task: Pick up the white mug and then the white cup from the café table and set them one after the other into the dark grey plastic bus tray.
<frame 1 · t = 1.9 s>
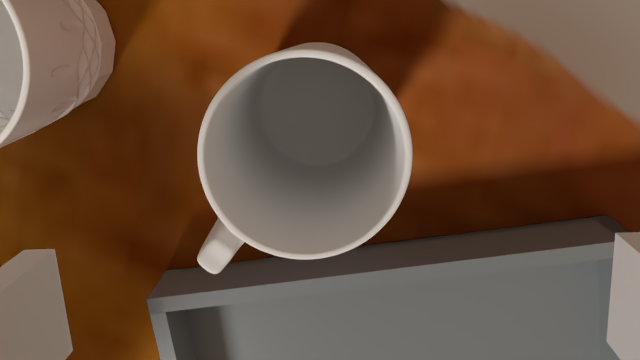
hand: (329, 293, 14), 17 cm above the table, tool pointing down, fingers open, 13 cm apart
mug: (297, 128, 31), on the table
white cup: (51, 43, 30), on the table
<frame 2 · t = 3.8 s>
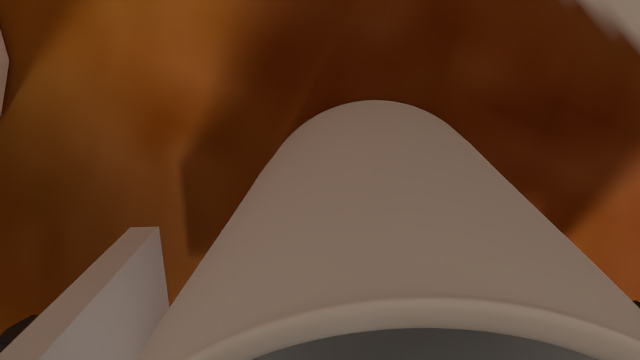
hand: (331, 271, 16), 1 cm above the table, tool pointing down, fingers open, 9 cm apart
mug: (330, 246, 17), on the table, touching gripper
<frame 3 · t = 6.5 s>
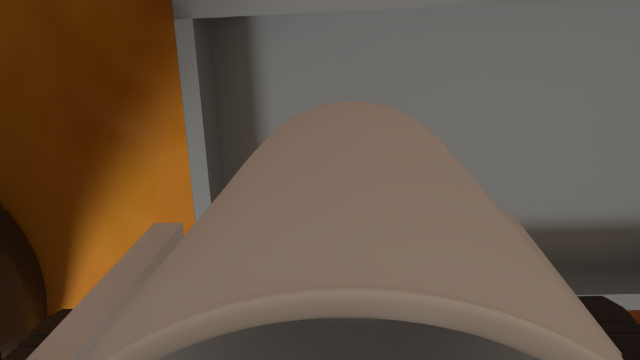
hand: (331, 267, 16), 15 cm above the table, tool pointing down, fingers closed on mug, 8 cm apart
tray: (445, 143, 30), on the table
mug: (310, 245, 17), point 13 cm above the table, touching gripper
when the fingers open (4 cm above the table, at t = 8.8 s): mug drops 2 cm, resting on tray.
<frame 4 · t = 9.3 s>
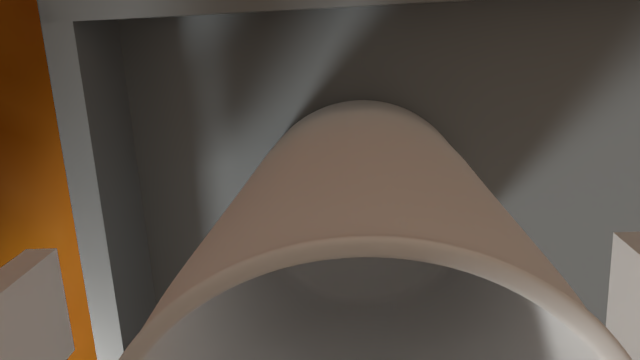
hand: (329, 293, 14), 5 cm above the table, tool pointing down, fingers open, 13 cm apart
tray: (494, 214, 19), on the table
mug: (325, 233, 19), resting on tray
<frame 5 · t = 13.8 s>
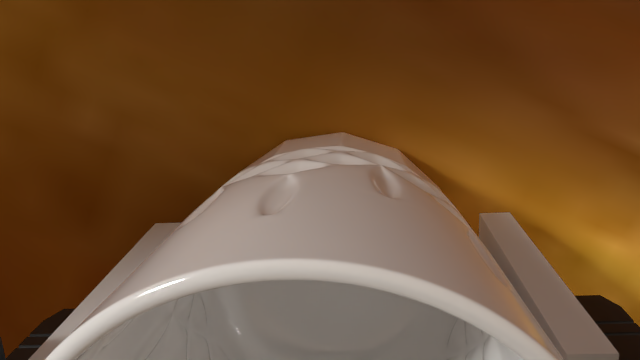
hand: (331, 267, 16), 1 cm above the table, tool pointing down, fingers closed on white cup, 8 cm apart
white cup: (333, 246, 17), on the table, touching gripper
when the fingers open (4 cm above the table, at t = 20.0 s): white cup drops 2 cm, resting on tray.
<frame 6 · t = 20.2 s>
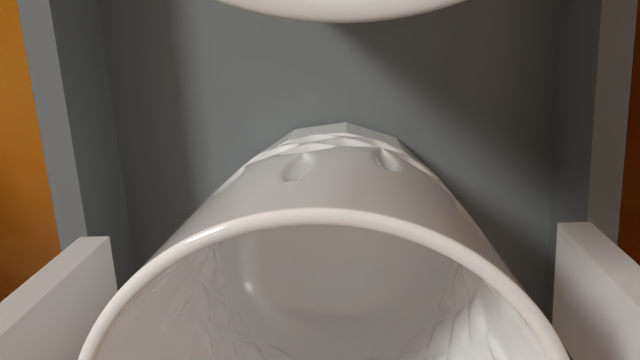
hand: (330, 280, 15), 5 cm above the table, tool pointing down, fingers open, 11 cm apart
tray: (327, 43, 18), on the table
white cup: (337, 225, 19), resting on tray
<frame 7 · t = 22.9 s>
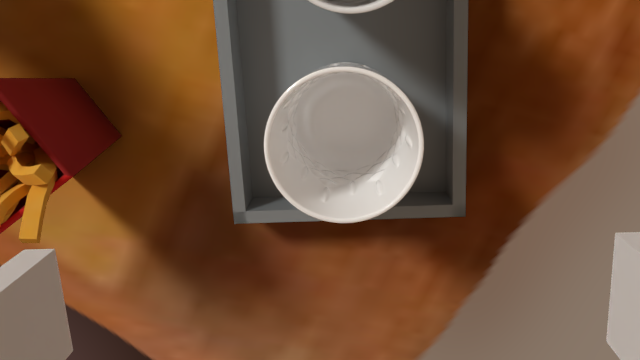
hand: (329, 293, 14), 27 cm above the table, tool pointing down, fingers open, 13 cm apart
tray: (341, 26, 39), on the table
white cup: (345, 114, 40), resting on tray
french fries: (70, 145, 42), on the table
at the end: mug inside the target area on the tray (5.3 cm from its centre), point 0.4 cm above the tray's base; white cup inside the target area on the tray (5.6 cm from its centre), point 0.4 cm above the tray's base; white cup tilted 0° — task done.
